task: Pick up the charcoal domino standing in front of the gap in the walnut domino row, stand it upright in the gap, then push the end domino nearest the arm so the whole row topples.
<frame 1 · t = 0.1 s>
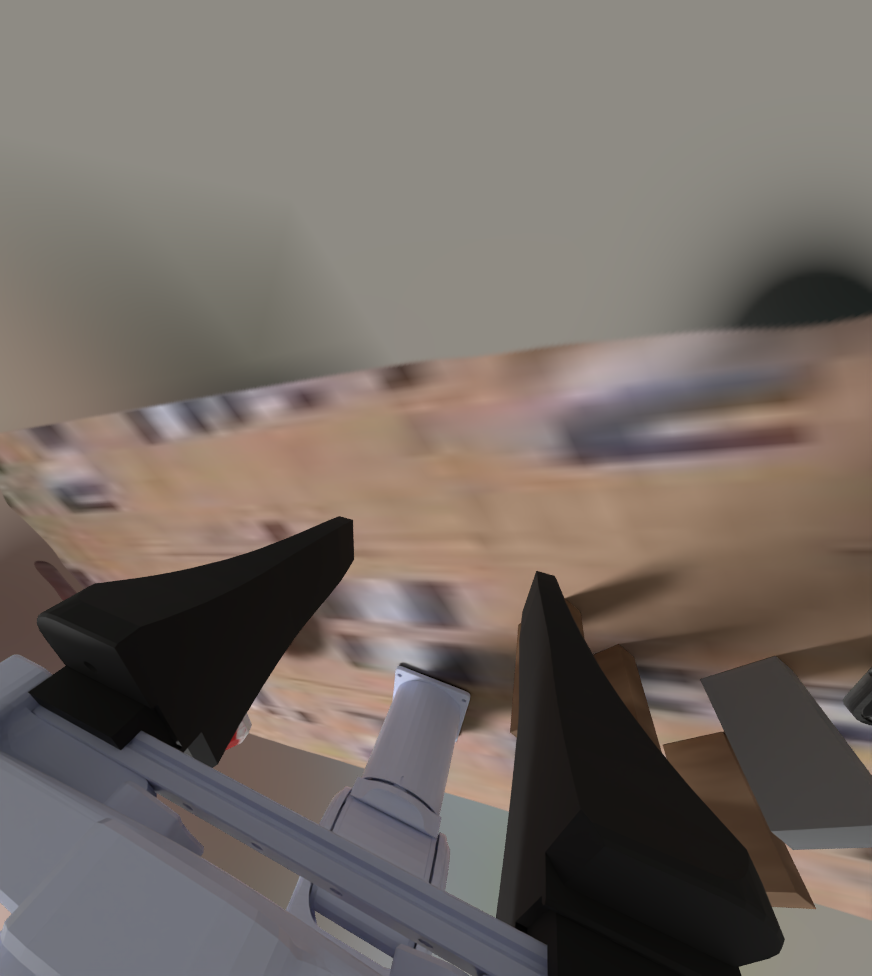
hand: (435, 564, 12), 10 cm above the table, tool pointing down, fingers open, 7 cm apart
domino 2: (599, 661, 24), on the table
decorative mushroom: (257, 631, 39), on the table
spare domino: (743, 675, 21), on the table
domino 1: (548, 618, 24), on the table
domino 4: (697, 744, 25), on the table
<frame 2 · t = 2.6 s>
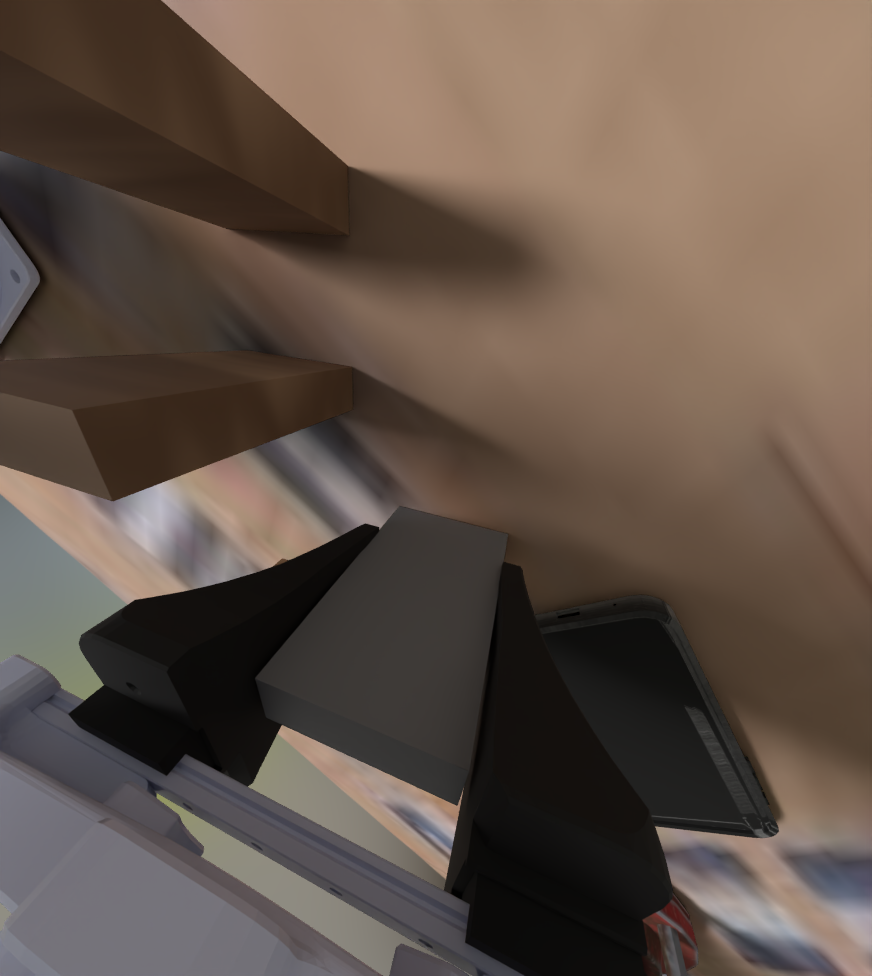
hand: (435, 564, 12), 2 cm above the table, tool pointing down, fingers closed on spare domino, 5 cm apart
domino 2: (299, 379, 12), on the table
hourglass: (564, 873, 25), on the table
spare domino: (449, 534, 13), on the table, touching gripper
domino 1: (281, 200, 10), on the table
phone: (626, 710, 16), on the table
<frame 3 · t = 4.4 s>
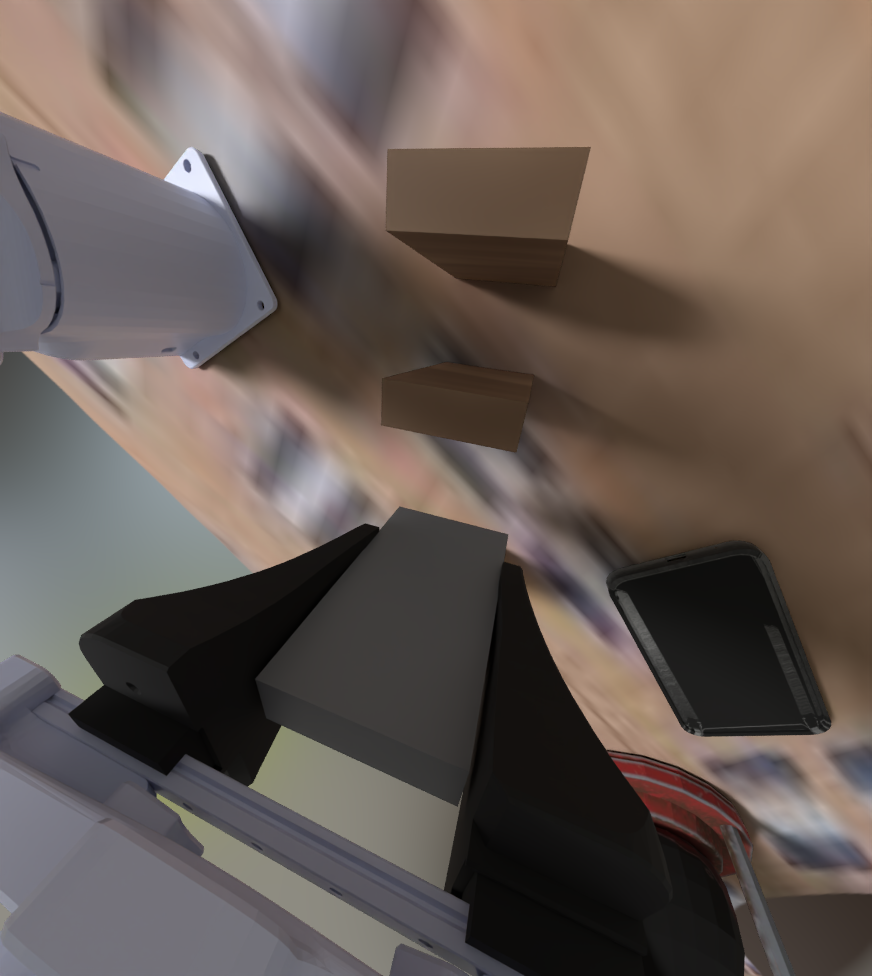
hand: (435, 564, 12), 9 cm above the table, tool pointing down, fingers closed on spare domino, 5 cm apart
domino 2: (486, 383, 17), on the table
hourglass: (630, 800, 29), on the table
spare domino: (449, 535, 13), point 7 cm above the table, touching gripper
domino 1: (507, 261, 14), on the table
phone: (709, 639, 20), on the table
when the fingers open (3 cm above the table, at t = 6.4 s): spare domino drops 1 cm, on the table.
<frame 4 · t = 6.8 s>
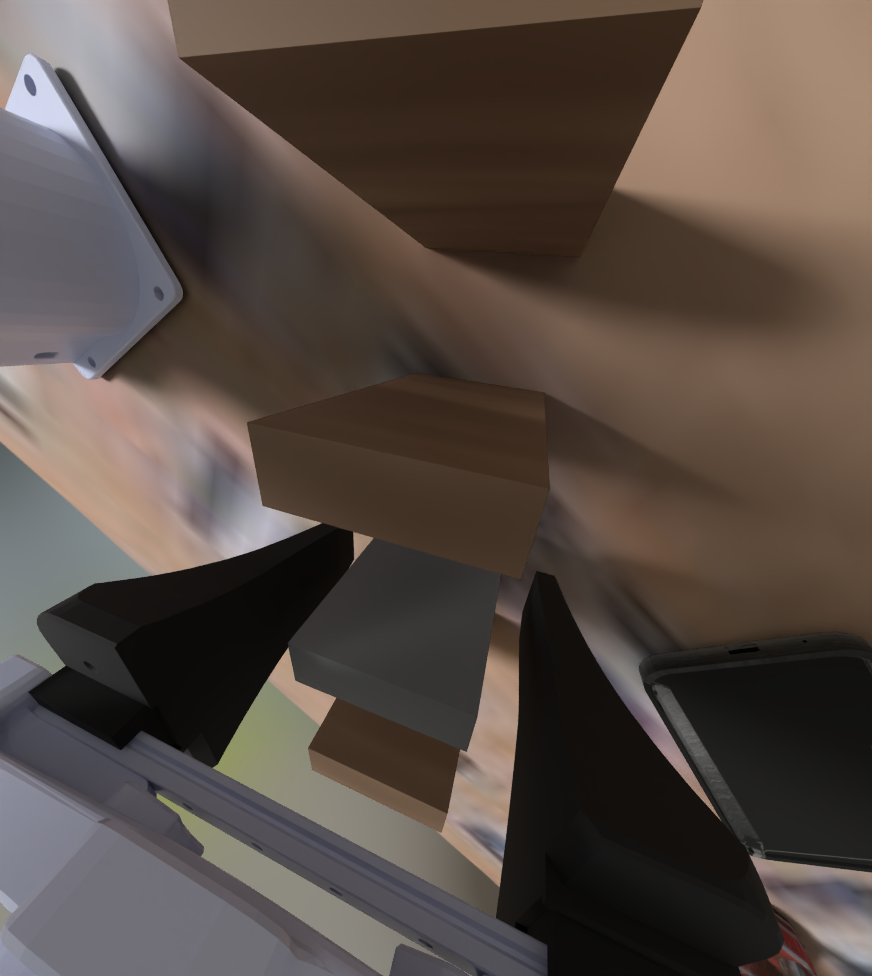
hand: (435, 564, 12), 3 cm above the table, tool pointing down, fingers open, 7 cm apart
domino 2: (474, 404, 12), on the table
hourglass: (657, 899, 24), on the table
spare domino: (454, 523, 14), on the table
domino 1: (503, 218, 9), on the table
phone: (778, 743, 15), on the table
domino 4: (441, 605, 17), on the table
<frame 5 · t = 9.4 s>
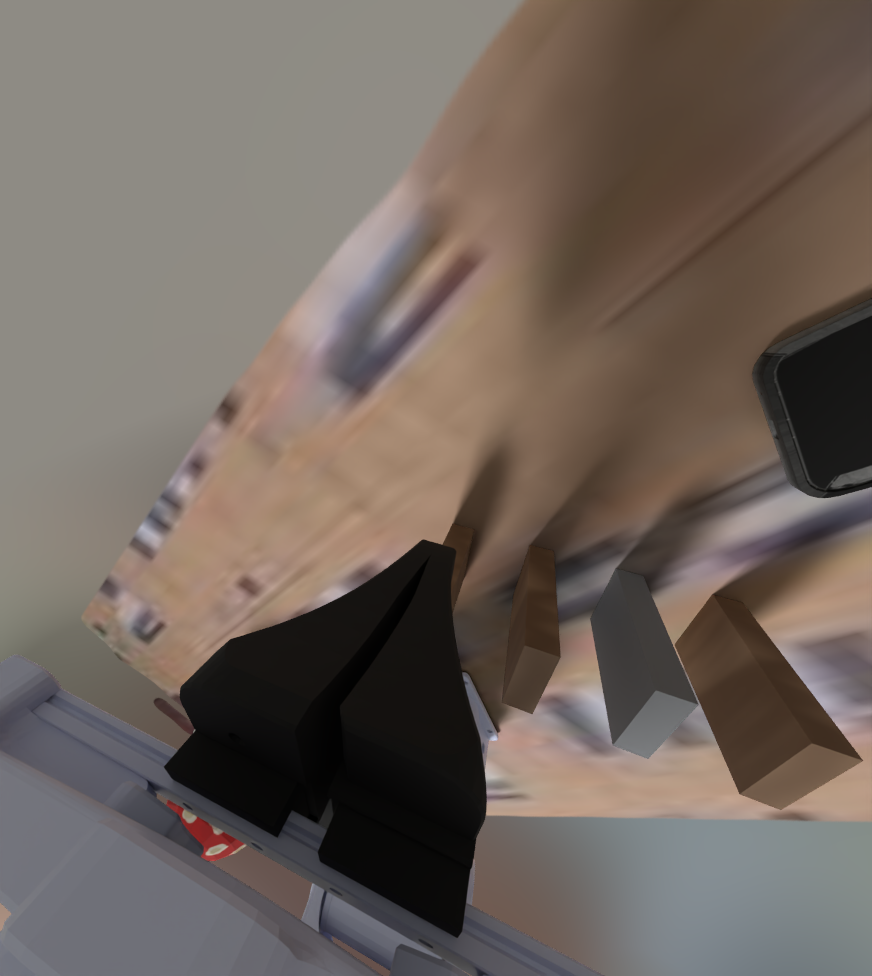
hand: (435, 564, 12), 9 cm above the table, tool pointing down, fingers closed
domino 2: (532, 574, 22), on the table
decorative mushroom: (295, 691, 41), on the table
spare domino: (615, 598, 21), on the table
domino 1: (458, 552, 23), on the table
domino 4: (706, 625, 20), on the table
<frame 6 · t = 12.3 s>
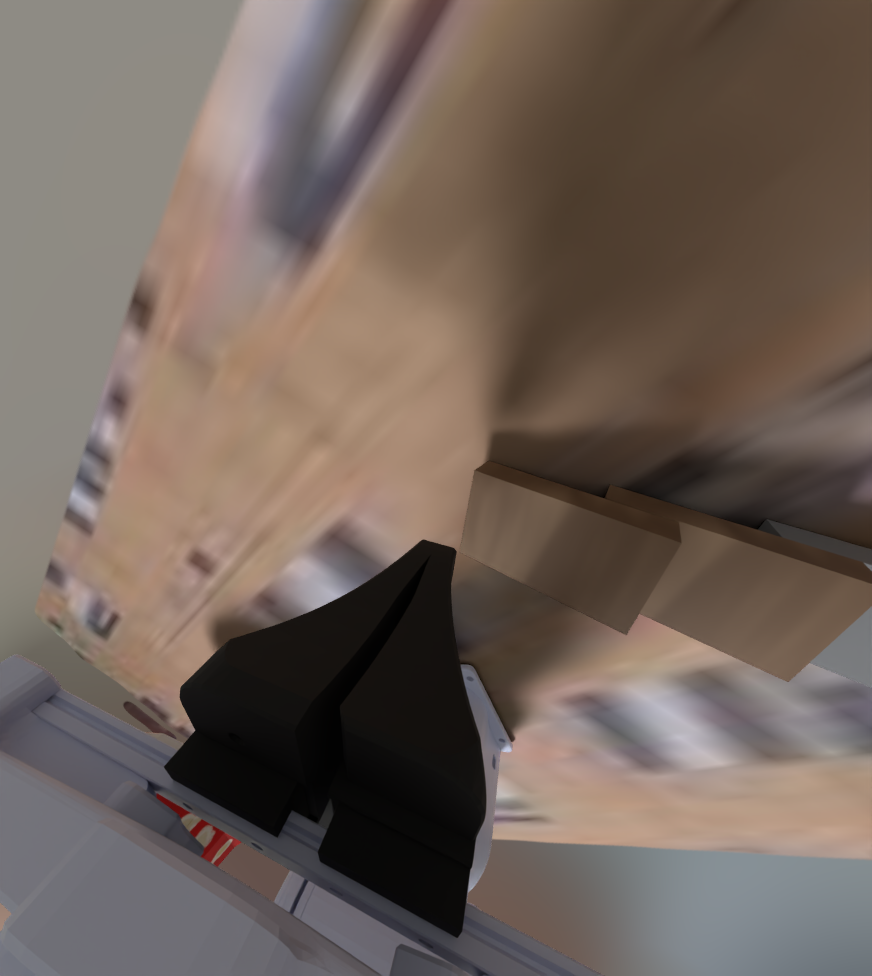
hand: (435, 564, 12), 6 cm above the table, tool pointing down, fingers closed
domino 2: (589, 534, 15), point 1 cm above the table, tilted 74°, touching domino 1, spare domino
decorative mushroom: (269, 692, 35), on the table
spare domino: (737, 573, 13), point 1 cm above the table, tilted 80°, touching domino 2, domino 4
domino 1: (473, 507, 16), point 1 cm above the table, tilted 74°, touching domino 2
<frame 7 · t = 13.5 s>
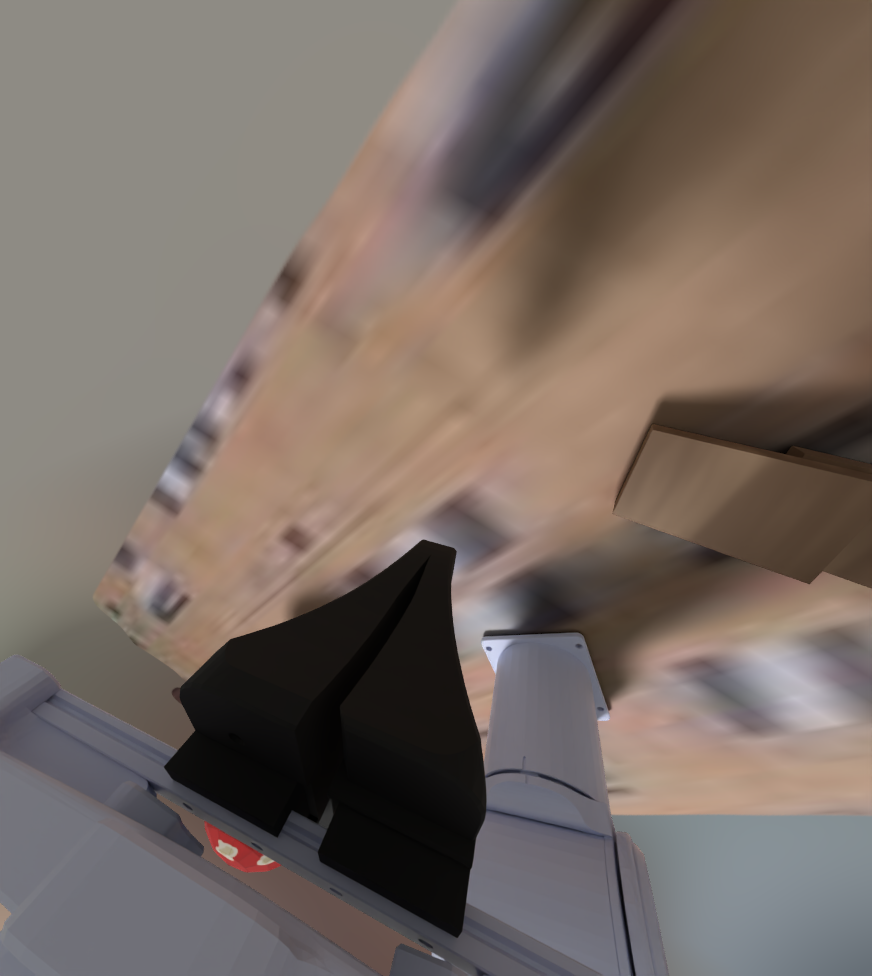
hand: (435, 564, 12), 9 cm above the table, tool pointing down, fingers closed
domino 2: (763, 494, 15), point 1 cm above the table, tilted 75°, touching domino 1, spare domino
decorative mushroom: (342, 671, 36), on the table
domino 1: (631, 470, 16), point 1 cm above the table, tilted 75°, touching domino 2
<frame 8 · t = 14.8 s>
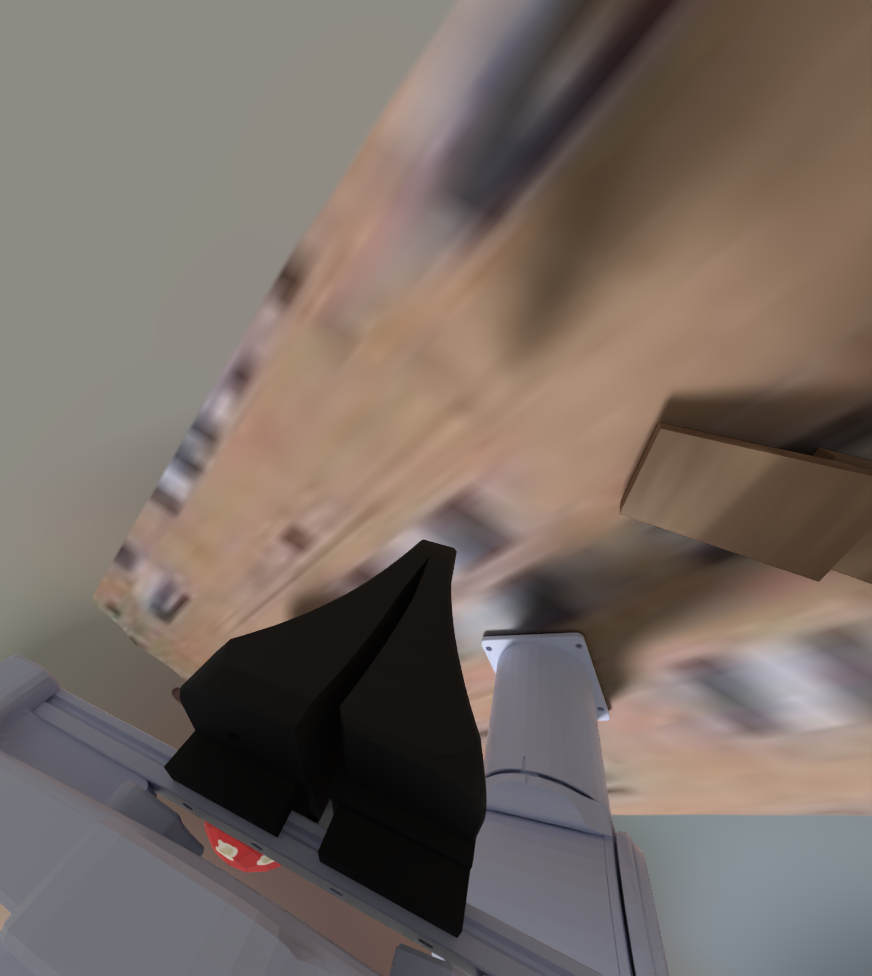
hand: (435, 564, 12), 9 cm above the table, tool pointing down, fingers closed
domino 2: (788, 497, 15), point 1 cm above the table, tilted 75°, touching domino 1
decorative mushroom: (342, 671, 36), on the table
domino 1: (638, 469, 16), point 1 cm above the table, tilted 76°, touching domino 2
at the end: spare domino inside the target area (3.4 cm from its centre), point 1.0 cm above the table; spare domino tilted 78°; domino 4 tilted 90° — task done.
